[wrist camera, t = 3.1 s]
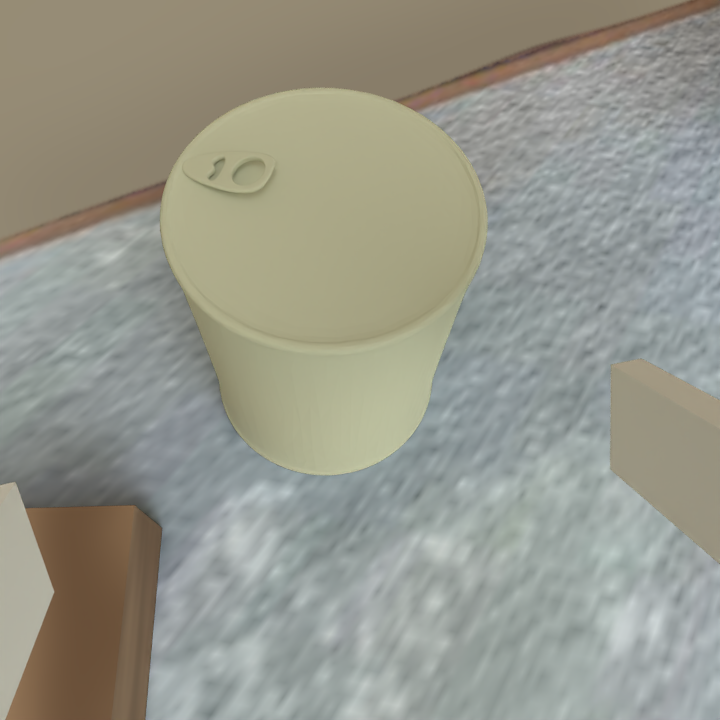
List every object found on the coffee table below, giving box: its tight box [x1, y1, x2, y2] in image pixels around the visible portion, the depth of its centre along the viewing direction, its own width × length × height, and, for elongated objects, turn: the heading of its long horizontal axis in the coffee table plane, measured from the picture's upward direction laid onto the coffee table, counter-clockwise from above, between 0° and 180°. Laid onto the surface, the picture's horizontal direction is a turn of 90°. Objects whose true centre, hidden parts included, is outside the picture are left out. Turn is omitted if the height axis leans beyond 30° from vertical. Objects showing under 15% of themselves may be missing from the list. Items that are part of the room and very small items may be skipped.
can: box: [160, 88, 487, 475], centre depth 23 cm, size 9×9×12 cm
